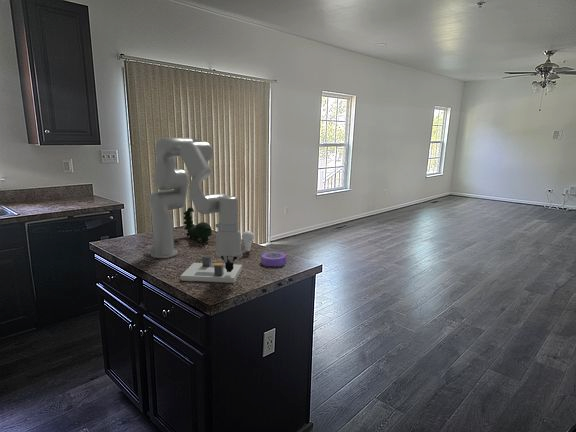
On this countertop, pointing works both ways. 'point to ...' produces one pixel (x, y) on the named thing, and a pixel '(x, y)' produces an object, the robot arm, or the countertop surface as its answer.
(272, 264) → the masking tape
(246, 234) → the lightbulb
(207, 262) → the on handle
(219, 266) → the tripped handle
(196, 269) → the board
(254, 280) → the countertop surface
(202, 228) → the toy figurine
